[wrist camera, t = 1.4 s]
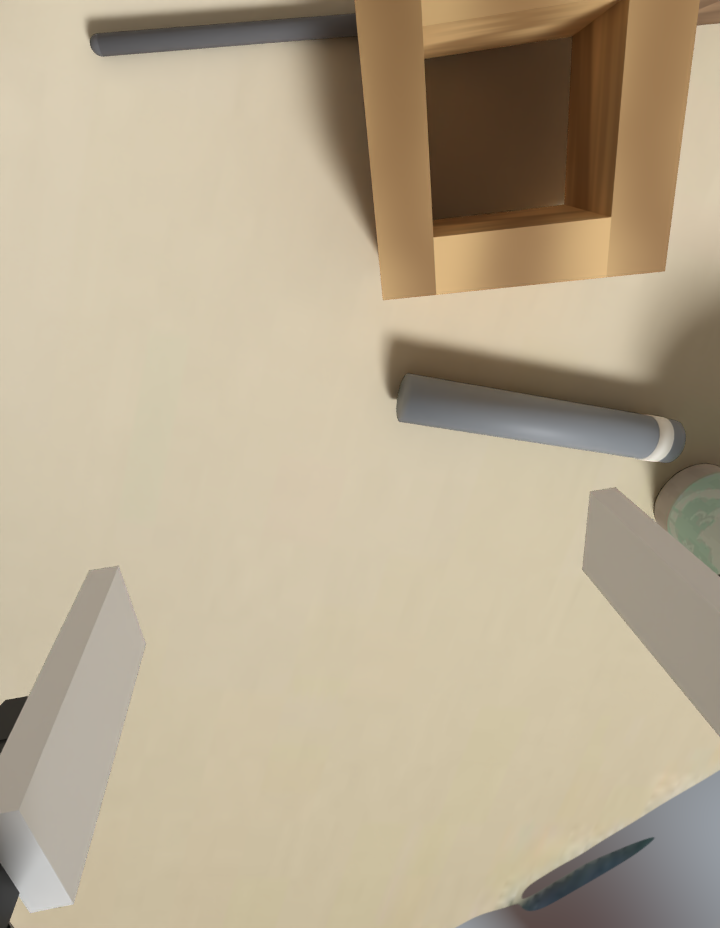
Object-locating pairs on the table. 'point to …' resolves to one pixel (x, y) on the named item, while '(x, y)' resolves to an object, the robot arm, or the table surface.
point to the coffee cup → (693, 511)
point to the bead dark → (708, 12)
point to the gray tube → (537, 419)
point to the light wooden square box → (588, 142)
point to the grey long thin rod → (223, 35)
